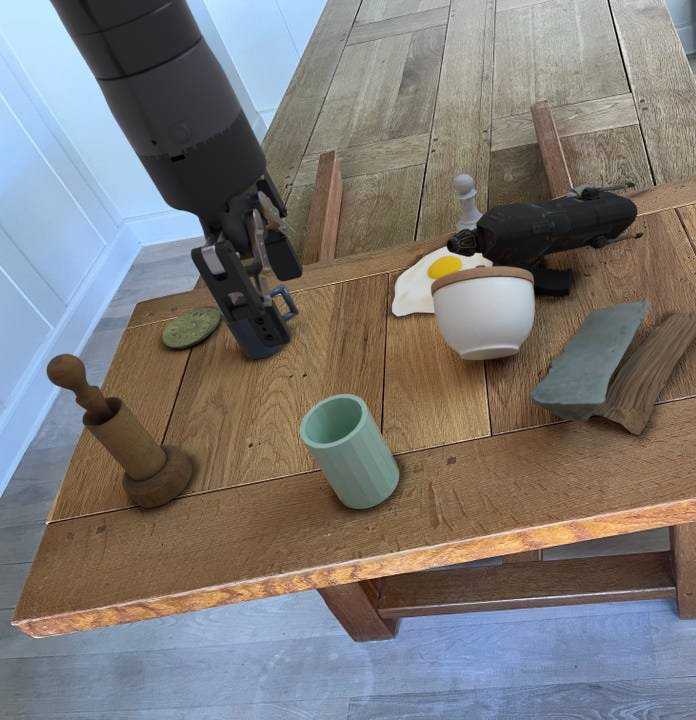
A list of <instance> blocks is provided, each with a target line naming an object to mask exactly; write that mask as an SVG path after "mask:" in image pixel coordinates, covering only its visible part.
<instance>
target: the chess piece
mask: <svg viewBox="0 0 696 720" xmlns="http://www.w3.org/2000/svg"><path fill="white" fill-rule="evenodd" d="M452 185H453V188H454V190H455V191H456V193H455V195H454V198H456V199H457V200H459V204H460V206H461V217H460V219H459V220H458V221H457V223H456V224H455V228H456V234H457V233H458V232H460V231H461V230H463V229H469V230H473V229H475V228H477V227H476V222H477V221H478V220H479V219H480V218H481V217H482V216H483V215H484V214H482V213H481V212H480V211H479V210H478V207H477V205H476V199H475V196H476V195H477V193H478V192H477V190H476V189H475V188H473V187H474V179H473V178H472V176H471V175H470V174H467V173H461V174H458V175H457V176H455V177H454V179H453V183H452ZM456 234H455V235H456Z"/></svg>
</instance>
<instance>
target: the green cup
mask: <svg viewBox="0 0 696 720" xmlns="http://www.w3.org/2000/svg"><path fill="white" fill-rule="evenodd" d="M299 437H300V439H301V441H302V442H303V445H305V447H306V449H307V450H308V451H309V454H310V455H311V456H312V458H313V460H314V461H315V463H316V464H317V466H318V468H319V470H320V471H321V473H322V474H323V476H324V477H325V479H326V480H327V483H328V484H329V485H330V487H331V488H332V490H333V492H334V493H335V495H336V496H337V497H338V499H339V501H340V502H341V503H342V504H343V505H344V506H346V507H347V508H351V509H354V510H366V509H370V508H373V507H376V506H377V505H379V504H381V503H383V502H384V501H385V500H387V499H388V498H389V497H390V496H391V495H392V494H393V492H394V491H395V489H396V488H397V486H398V483H399V481H400V470H399V467H398V464H397V462H396V460H395V458H394V456H393V454H392V452H391V450H390V448H389V446H388V444H387V442H386V440H385V438H384V436H383V434H382V433H381V431H380V428H379V426H378V425H377V423H376V420H375V419H374V417H373V414H372V413H371V411H370V409H369V406H368V405H367V403H366V402H365V401H364V399H363V398H361V397H360V396H357V395H355V394H353V393H352V394H351V393H339V394H335V395H331V396H329V397H327V398H325V399H322V400H320V401H318V402H317V403H316V404H315V405H313V406H312V407H310V408H309V410H308V411H307V412H306V413H305V415H304V416H303V417H302V420H301V422H300V425H299Z"/></svg>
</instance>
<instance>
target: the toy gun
mask: <svg viewBox="0 0 696 720" xmlns="http://www.w3.org/2000/svg"><path fill="white" fill-rule="evenodd" d="M492 263H493V265H492V267H493V266H504V265H501V264H497V263H494V262H492ZM505 267H515V268H521V269H524V270H527V271H529V272H530V273H531V274H532V275H533V278H534V287H533V288H534V295H535V294H538V295H542V296H547V297H553V298H565V297H566V296H568V297H569V296H570V294H571V288H572V280H573V271H572V268H567V269H560V268H554V269H553V268H546V267H544V256H539V257H537V258H534V259H532V260H530V261H523V262H518V263H514V264H509V265H505Z"/></svg>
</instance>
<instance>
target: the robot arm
mask: <svg viewBox="0 0 696 720" xmlns="http://www.w3.org/2000/svg"><path fill="white" fill-rule="evenodd" d="M48 1H49V2H50V3H51V5H52V6H53V8H54V10H55V12H56V14H57V16H58V18H59V20H60V22H61V23H62V25H63V27H64V28H65V30H66V32H67V33H68V36H69V37H70V39H71V40H72V42H73V44H74V45H75V47H76V48H77V50H78V52H79V54H80V55H81V57H82V59H83V60H84V62H85V63H86V65H87V67H88V69H89V70H90V72H91V74H92V75H93V76H94V79H95V80H96V83H97V85H98V87H99V89H100V91H101V93H102V95H103V97H104V101H105V102H106V104H107V106H108V108H109V111H110V113H111V115H112V117H113V119H114V120H115V122H116V124H117V125H118V127H119V128H120V130H121V132H122V134H123V135H124V137H125V138H126V140H127V141H128V143H129V145H130V146H131V148H132V150H133V152H134V153H135V155H136V156H137V158H138V160H139V161H140V163H141V164H142V166H143V168H144V170H145V171H146V173H147V175H148V176H149V178H150V179H151V181H152V183H153V184H154V186H155V188H156V189H157V192H159V195H160V196H161V198H162V199H163V201H164V203H166V204H167V205H168V207H170V208H172V209H174V210H175V211H176V210H177V211H180V212H181V211H183V212H186V213H190V214H193V215H194V216H196V217H197V218H198V221H199V223H200V226H201V228H202V233H203V236H204V239H205V244H204V245H201V246H198V247H194V248H191V250H190V258H191V261H192V262H193V264H194V266H195V268H196V269H197V271H198V273H199V274H200V277H201V278H202V280H203V281H204V283H205V285H206V287H207V289H208V290H209V292H210V294H211V295H212V297H213V299H214V301H215V302H216V304H217V307H218V306H219V308H220V309H221V311H222V313H223V315H224V316H225V318H226V320H227V321H228V322H229V323H234V322H237V321H240V320H244V319H248V321H249V323H250V324H251V326H252V328H253V329H254V331H255V333H256V335H257V336H258V338H259V340H260V341H261V343H262V345H263V346H265V347H268V348H270V347H275V346H279V345H282V346H284V345H287V344H289V343H290V341H291V336H292V331H291V329H290V328H289V326H288V324H287V322H285V321H284V319H283V317H282V315H283V314H282V313H281V312H280V309H279V308H278V306H277V304H276V303H275V301H274V299H273V298H271V295H270V287H269V284H268V280H267V275H268V274H269V273H270V271H271V269H272V271H273V274H274V275H275V277H276V279H277V280H278V281H280V282H287V281H292V280H296V279H300V278H301V277H302V275H303V271H304V267H303V265H302V264H301V260H300V259H299V257H298V256H297V253H296V251H295V249H294V248H293V245H292V243H291V241H290V239H289V237H288V235H289V228H288V227H289V226H288V225H287V223H286V222H285V221H284V220H283V219H285V218H288V209H287V206H286V205H285V203H284V201H283V199H282V197H281V195H280V193H279V191H278V189H277V187H276V185H275V183H274V181H273V179H272V178H271V176H270V174H269V172H268V170H267V157H266V154H265V152H264V151H263V149H262V147H261V145H260V142H259V140H258V138H257V136H256V134H255V132H254V130H253V127H252V126H251V123H250V121H249V119H248V118H247V115H246V113H245V111H244V109H243V107H242V105H241V103H240V101H239V99H238V96H237V94H236V92H235V90H234V88H233V86H232V84H231V82H230V80H229V78H228V75H227V74H226V72H225V70H224V68H223V66H222V64H221V62H220V61H219V59H218V58H217V56H216V55H215V53H214V52H213V50H212V49H211V47H210V46H209V44H208V42H207V40H206V38H205V36H204V35H203V33H202V31H201V29H200V26H199V24H198V22H197V20H196V18H195V15H194V14H193V12H192V10H191V8H190V6H189V3H188V2H187V0H48ZM268 199H269V200H268ZM250 259H253V261H252V263H251V264H249V265H245V266H244V265H243V263H242V262H243V261H247V260H250ZM251 278H253V282H254V284H253V282H252V280H251ZM254 286H256V289H255V287H254ZM256 290H257V291H256ZM228 294H230V295H231V298H230V297H229V295H228ZM231 299H232V300H231Z"/></svg>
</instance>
